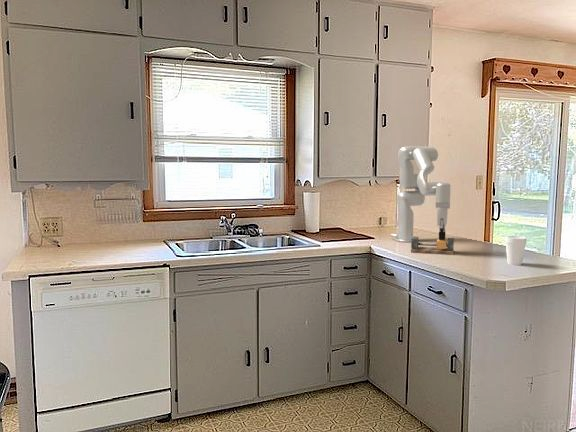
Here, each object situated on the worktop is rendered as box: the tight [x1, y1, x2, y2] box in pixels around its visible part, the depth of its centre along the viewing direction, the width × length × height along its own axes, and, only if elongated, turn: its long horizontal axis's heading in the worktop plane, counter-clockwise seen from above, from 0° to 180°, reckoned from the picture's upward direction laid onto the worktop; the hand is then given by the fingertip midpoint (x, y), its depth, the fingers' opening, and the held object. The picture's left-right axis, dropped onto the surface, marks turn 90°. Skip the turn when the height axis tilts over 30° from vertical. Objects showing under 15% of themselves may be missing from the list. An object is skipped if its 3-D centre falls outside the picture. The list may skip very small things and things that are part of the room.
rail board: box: [410, 236, 455, 256], centre depth 265 cm, size 22×12×8 cm, turn 69°
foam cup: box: [504, 235, 527, 266], centre depth 231 cm, size 10×9×13 cm
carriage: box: [436, 238, 448, 249], centre depth 263 cm, size 5×7×10 cm
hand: (442, 238), depth 263 cm, fingers open, 3 cm apart
